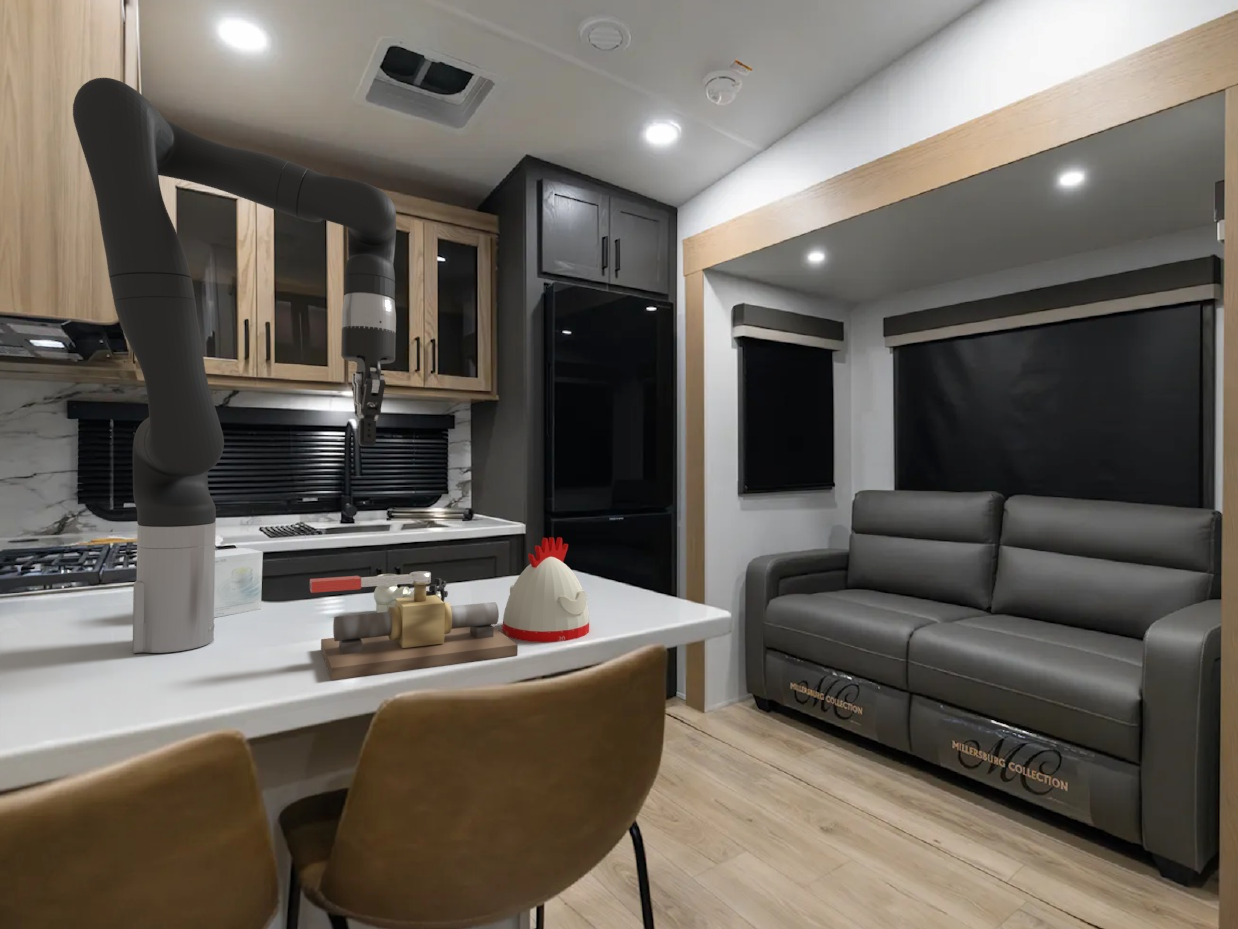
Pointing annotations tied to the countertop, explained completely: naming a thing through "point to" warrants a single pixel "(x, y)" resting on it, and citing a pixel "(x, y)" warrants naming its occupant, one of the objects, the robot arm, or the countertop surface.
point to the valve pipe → (414, 637)
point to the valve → (403, 593)
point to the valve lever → (367, 581)
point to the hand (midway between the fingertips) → (366, 445)
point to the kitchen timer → (547, 599)
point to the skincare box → (237, 581)
